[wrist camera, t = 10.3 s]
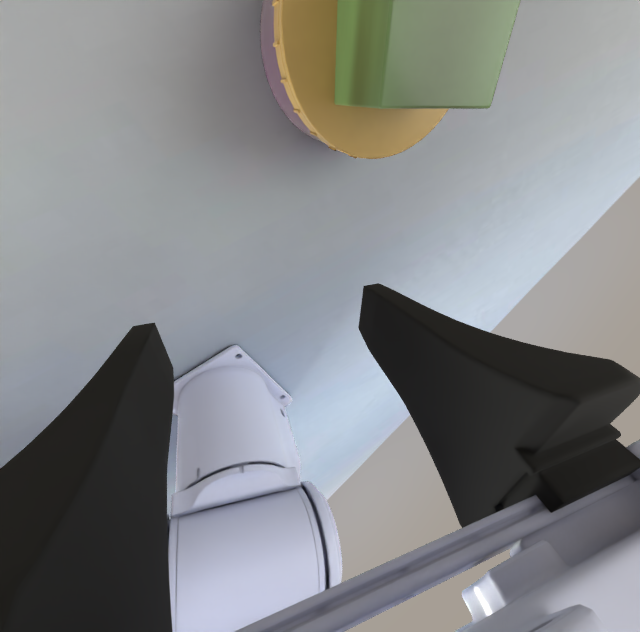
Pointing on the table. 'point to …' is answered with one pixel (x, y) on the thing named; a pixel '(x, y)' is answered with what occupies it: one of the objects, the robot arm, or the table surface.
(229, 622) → the robot arm
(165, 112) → the table surface
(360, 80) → the block
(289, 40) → the lid
